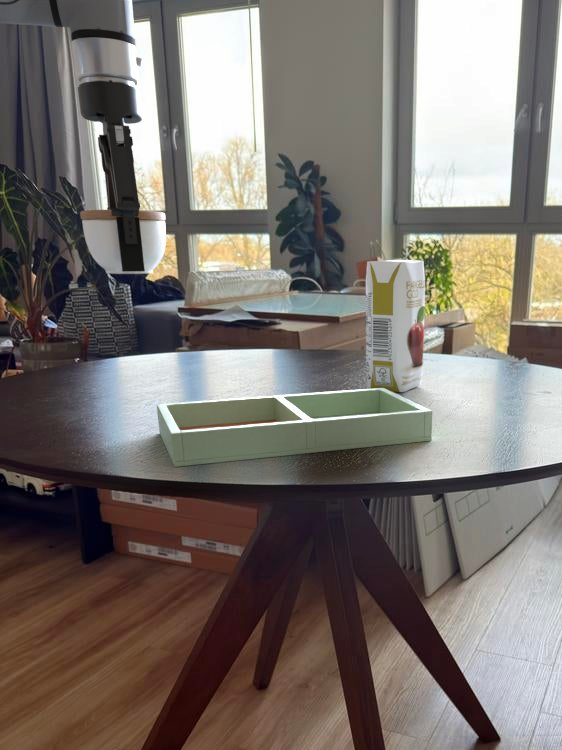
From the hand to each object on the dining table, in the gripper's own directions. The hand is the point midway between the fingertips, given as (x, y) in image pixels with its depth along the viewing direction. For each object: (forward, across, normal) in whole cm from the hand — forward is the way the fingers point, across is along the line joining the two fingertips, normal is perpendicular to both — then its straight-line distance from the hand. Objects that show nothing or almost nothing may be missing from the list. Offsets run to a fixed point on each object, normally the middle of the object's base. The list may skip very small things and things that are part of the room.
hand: (129, 269), depth 98 cm
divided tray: (+18, -29, -14) cm, 37 cm away
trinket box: (+1, 0, 0) cm, 1 cm away
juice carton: (+18, -5, -38) cm, 42 cm away
